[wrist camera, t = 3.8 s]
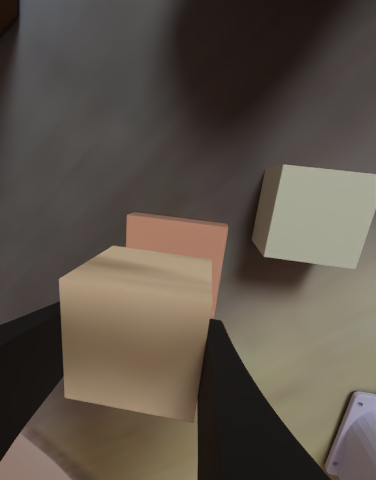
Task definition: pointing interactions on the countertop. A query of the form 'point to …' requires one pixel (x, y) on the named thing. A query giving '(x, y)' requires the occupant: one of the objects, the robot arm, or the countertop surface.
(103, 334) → the maple block
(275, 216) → the sage block
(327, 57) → the countertop surface
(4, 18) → the beer bottle
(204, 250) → the plinth
